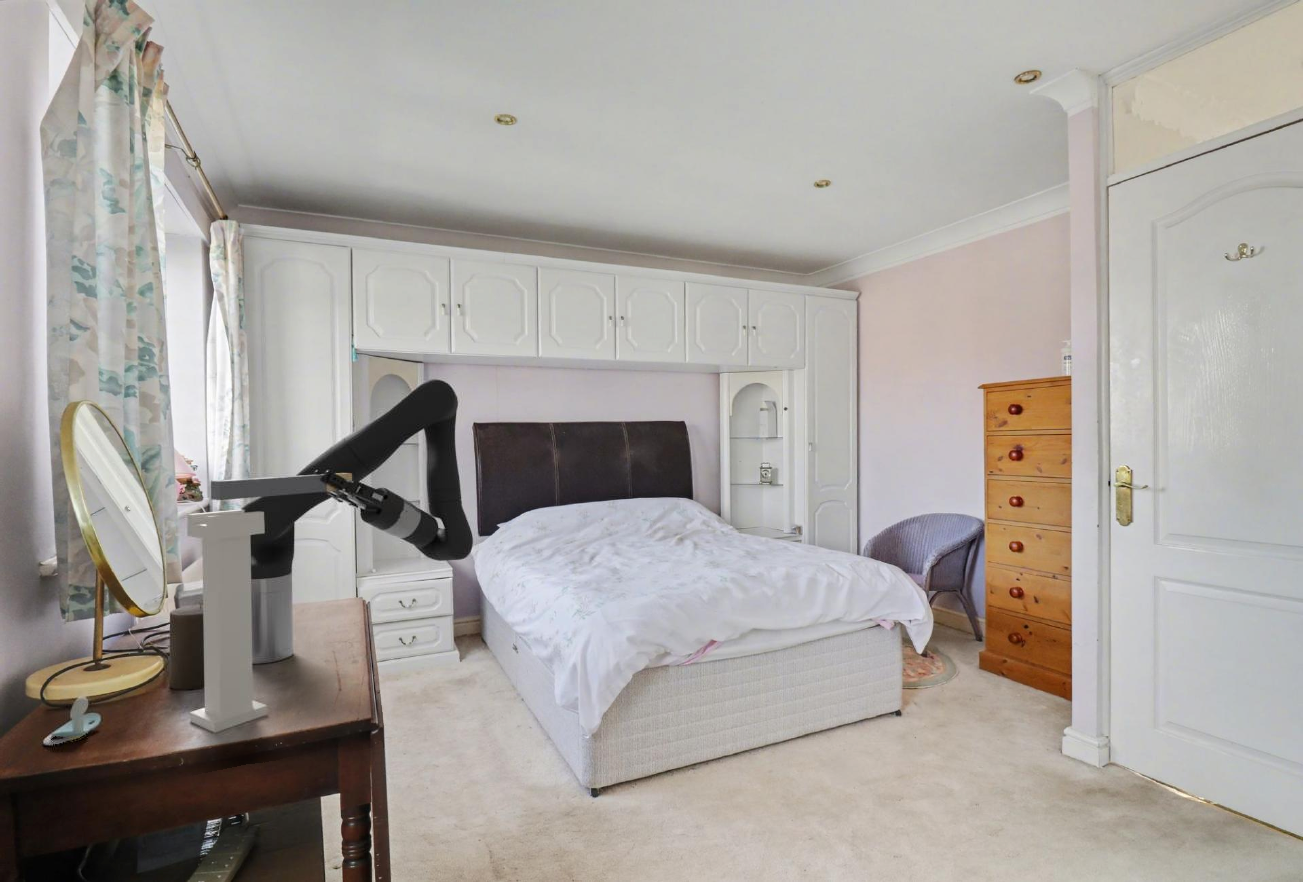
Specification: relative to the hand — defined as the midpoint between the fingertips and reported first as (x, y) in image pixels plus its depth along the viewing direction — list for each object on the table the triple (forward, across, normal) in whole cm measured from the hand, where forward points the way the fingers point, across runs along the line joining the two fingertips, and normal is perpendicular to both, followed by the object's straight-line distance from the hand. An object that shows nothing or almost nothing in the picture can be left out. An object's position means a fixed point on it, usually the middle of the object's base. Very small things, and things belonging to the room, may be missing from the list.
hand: (319, 475), depth 124 cm
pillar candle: (-10, -23, +39) cm, 46 cm away
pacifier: (+9, -13, +50) cm, 53 cm away
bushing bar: (+4, 0, +6) cm, 7 cm away
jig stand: (-5, 0, +42) cm, 42 cm away
